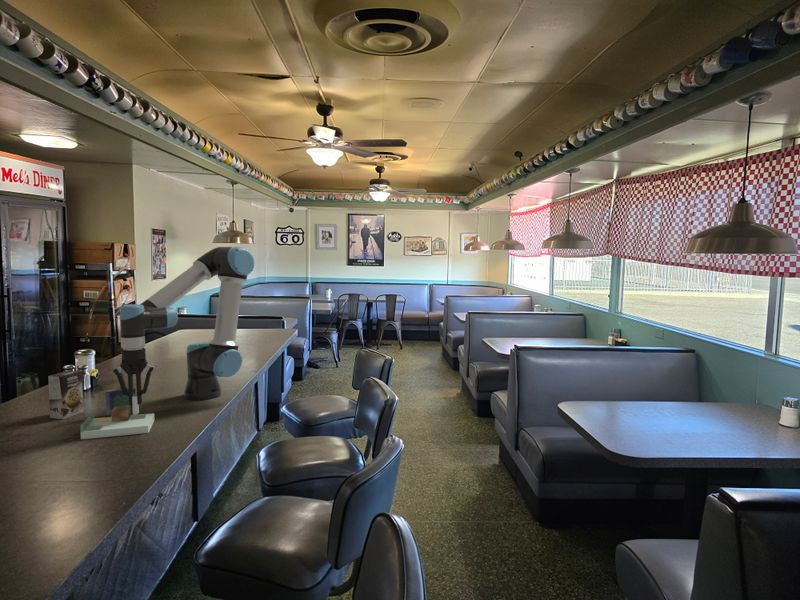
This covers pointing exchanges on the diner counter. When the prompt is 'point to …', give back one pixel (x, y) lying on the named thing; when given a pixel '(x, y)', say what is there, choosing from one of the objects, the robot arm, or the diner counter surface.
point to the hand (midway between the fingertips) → (135, 413)
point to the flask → (117, 399)
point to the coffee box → (65, 394)
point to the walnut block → (120, 413)
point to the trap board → (116, 426)
